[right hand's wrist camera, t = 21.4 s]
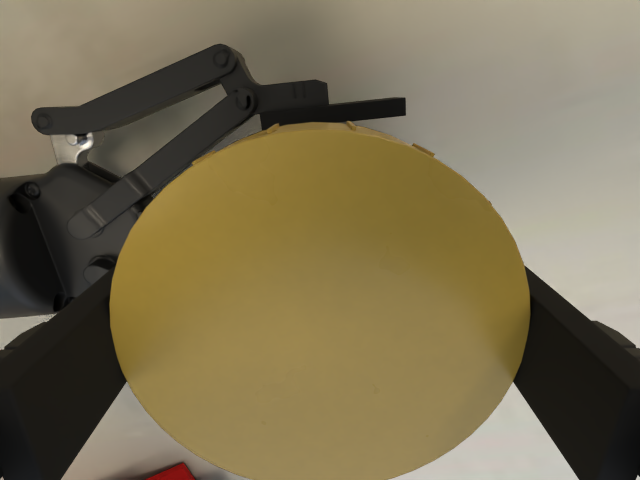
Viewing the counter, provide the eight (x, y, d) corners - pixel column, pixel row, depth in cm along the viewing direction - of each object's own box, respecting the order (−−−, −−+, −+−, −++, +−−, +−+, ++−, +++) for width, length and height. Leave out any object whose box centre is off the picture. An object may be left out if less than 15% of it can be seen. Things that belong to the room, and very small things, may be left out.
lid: (387, 32, 10) (408, 14, 7) (543, 345, 13) (590, 398, 11) (71, 247, 12) (12, 283, 9) (276, 469, 15) (269, 534, 13)
